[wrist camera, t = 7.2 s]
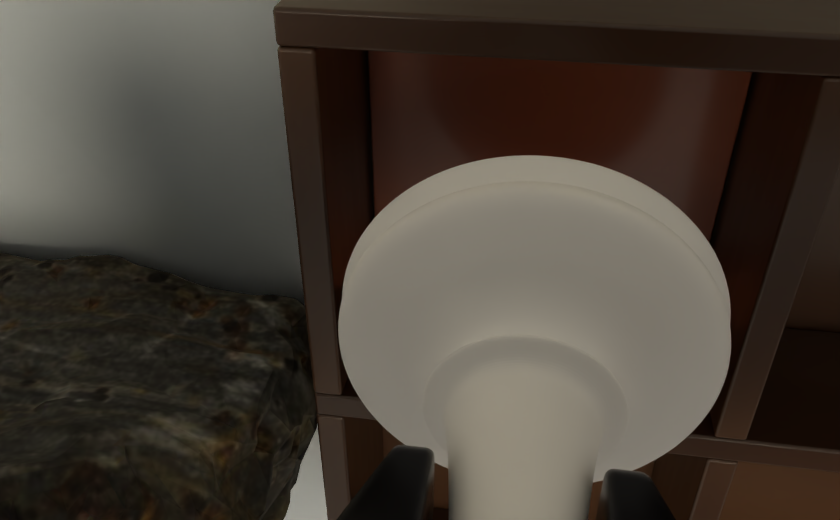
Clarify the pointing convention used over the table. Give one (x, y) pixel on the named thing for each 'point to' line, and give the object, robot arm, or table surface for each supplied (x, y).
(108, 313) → the stone
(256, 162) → the table surface
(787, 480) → the grid
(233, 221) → the table surface
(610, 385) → the chess piece
